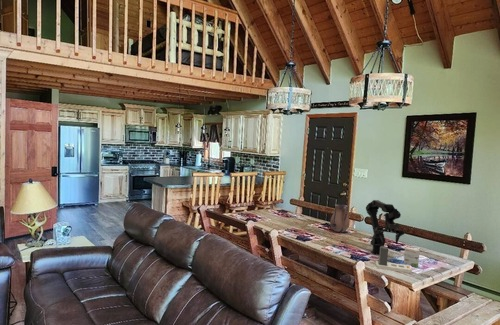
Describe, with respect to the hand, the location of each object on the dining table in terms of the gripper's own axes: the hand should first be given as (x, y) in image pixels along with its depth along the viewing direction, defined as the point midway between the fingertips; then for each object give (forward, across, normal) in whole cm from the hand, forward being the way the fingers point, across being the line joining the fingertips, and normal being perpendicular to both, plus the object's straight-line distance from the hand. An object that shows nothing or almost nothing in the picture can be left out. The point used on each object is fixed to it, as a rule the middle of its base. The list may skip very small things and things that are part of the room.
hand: (389, 243), depth 233 cm
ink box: (+12, +17, +7) cm, 22 cm away
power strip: (+18, 0, -4) cm, 19 cm away
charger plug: (+17, -6, -3) cm, 19 cm away
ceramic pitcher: (-22, -17, +80) cm, 85 cm away
